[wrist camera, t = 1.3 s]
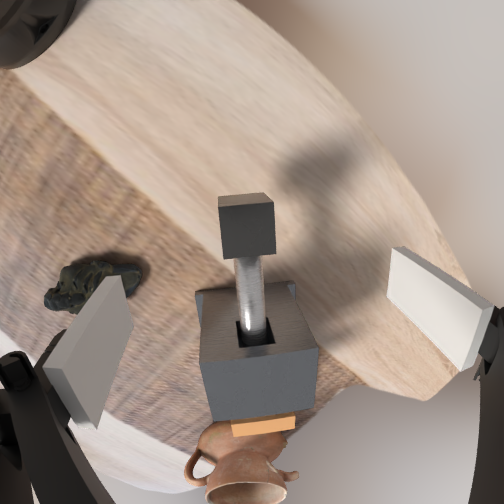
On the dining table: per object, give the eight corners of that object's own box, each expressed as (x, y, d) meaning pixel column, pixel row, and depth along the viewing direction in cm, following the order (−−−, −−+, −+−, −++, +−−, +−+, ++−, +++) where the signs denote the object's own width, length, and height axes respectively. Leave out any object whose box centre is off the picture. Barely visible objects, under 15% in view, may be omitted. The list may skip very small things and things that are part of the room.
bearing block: (195, 291, 36) (187, 363, 23) (293, 280, 37) (329, 345, 24) (204, 344, 38) (203, 422, 26) (293, 333, 39) (323, 405, 27)
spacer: (227, 382, 35) (231, 424, 28) (283, 375, 35) (295, 415, 29) (229, 395, 36) (233, 436, 29) (283, 388, 36) (294, 428, 30)
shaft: (218, 196, 26) (218, 206, 21) (263, 192, 26) (273, 201, 22) (243, 410, 35) (247, 440, 30) (274, 406, 35) (281, 435, 31)
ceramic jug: (291, 403, 44) (310, 473, 31) (284, 449, 49) (297, 508, 35) (180, 408, 43) (173, 480, 29) (191, 453, 47) (189, 513, 34)
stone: (152, 296, 36) (144, 318, 31) (68, 313, 35) (53, 334, 30) (135, 245, 33) (123, 261, 28) (49, 268, 33) (30, 285, 28)
